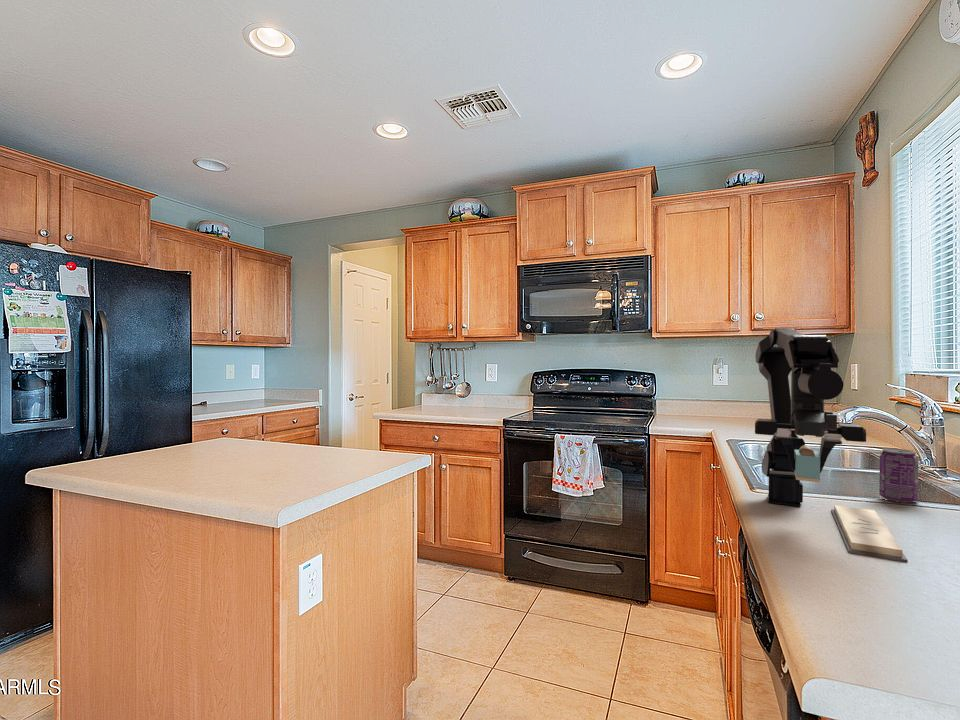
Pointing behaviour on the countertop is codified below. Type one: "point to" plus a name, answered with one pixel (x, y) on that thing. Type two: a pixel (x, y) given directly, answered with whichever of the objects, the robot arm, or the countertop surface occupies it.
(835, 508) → the board
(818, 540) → the countertop surface
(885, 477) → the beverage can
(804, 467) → the teal toaster
